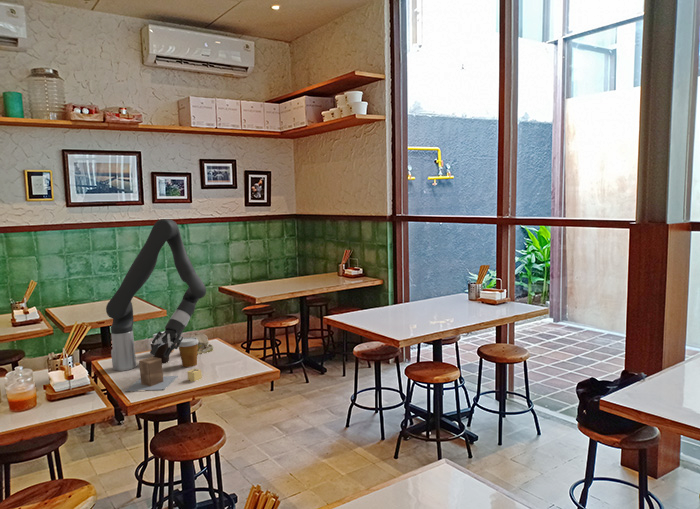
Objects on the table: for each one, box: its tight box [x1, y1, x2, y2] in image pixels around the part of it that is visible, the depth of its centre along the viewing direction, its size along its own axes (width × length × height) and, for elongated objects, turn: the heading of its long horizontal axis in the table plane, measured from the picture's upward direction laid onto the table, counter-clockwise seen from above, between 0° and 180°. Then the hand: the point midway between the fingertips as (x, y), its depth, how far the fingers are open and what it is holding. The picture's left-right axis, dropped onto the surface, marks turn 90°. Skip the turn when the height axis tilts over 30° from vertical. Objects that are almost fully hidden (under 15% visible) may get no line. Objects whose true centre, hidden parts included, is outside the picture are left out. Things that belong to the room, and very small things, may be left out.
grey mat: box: [124, 375, 179, 392], centre depth 220 cm, size 16×16×1 cm
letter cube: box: [187, 368, 203, 382], centre depth 222 cm, size 4×4×4 cm
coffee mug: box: [150, 340, 170, 364], centre depth 251 cm, size 12×9×10 cm
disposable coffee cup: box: [178, 336, 199, 368], centre depth 243 cm, size 10×10×12 cm
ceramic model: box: [189, 332, 214, 356], centre depth 264 cm, size 14×11×10 cm
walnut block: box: [138, 356, 164, 386], centre depth 219 cm, size 6×6×10 cm
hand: (158, 355), depth 222 cm, fingers open, 8 cm apart
